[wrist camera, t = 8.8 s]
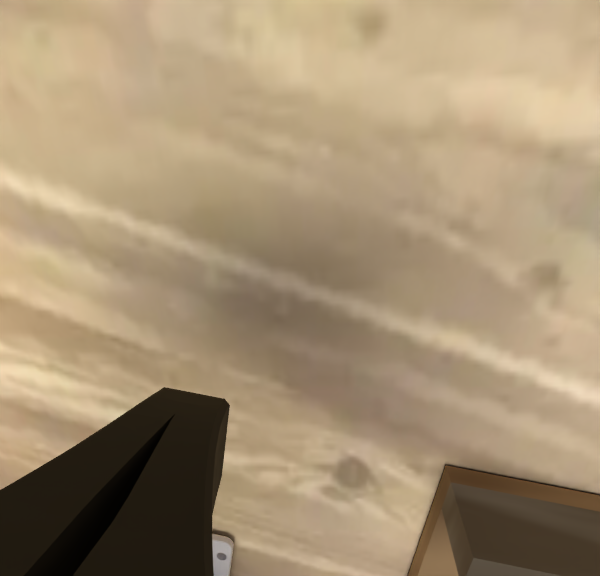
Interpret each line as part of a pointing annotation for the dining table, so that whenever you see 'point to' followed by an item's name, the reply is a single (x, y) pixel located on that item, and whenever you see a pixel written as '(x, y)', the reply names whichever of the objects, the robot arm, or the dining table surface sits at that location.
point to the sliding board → (508, 529)
